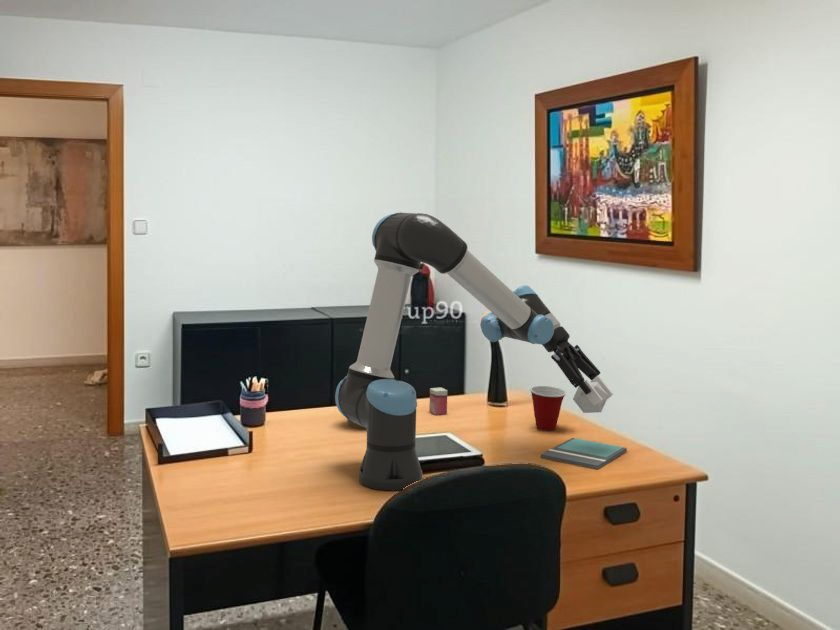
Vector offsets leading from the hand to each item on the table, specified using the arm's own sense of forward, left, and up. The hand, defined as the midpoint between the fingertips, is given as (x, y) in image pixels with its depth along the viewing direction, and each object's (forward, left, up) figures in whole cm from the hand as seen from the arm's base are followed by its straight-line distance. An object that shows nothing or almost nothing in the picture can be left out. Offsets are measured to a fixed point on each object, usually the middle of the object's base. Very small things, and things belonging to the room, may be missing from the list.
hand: (603, 399), depth 216 cm
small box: (+10, +60, -15) cm, 62 cm away
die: (0, +4, -4) cm, 5 cm away
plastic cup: (+15, +24, -15) cm, 32 cm away
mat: (-3, +4, -15) cm, 16 cm away
